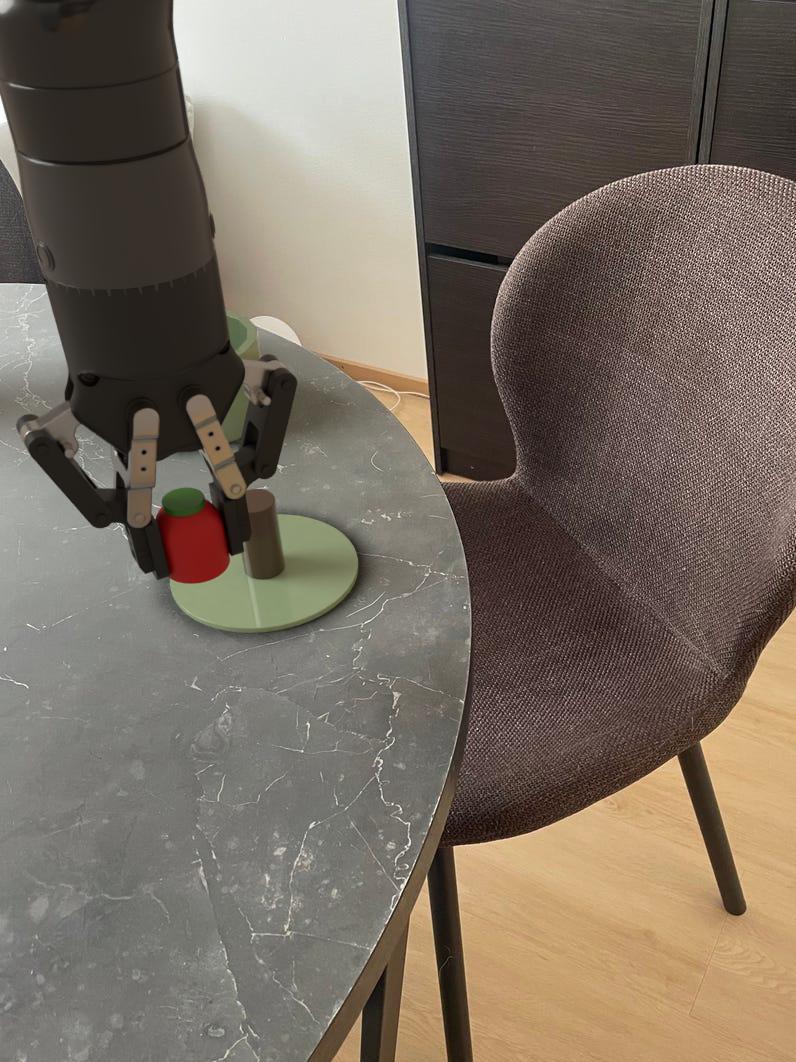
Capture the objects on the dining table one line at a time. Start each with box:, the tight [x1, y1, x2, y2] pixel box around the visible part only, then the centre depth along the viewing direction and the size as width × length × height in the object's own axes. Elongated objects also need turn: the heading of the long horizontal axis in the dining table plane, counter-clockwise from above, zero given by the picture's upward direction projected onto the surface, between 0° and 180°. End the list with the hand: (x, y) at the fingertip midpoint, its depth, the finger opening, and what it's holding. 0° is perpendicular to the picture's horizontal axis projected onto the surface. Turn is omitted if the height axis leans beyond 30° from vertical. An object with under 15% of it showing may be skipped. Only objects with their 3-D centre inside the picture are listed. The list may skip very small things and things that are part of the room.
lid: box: [169, 488, 359, 634], centre depth 70 cm, size 13×13×7 cm
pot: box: [221, 309, 262, 443], centre depth 86 cm, size 12×12×8 cm
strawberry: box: [154, 487, 230, 584], centre depth 56 cm, size 4×4×4 cm
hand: (195, 557), depth 57 cm, fingers closed on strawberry, 3 cm apart
